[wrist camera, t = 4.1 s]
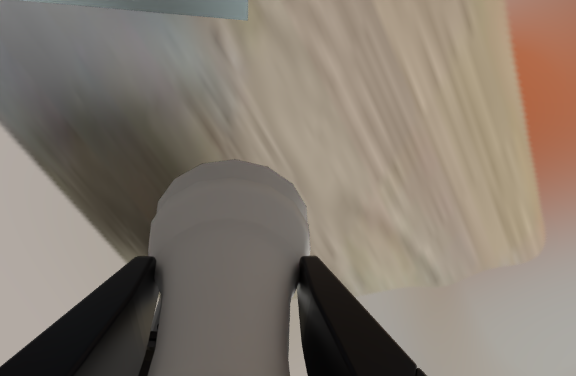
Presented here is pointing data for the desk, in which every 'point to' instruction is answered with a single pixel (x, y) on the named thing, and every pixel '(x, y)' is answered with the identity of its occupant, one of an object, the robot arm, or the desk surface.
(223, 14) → the pivoting flap
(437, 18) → the desk surface
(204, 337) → the rook chess piece
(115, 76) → the desk surface
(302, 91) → the desk surface
